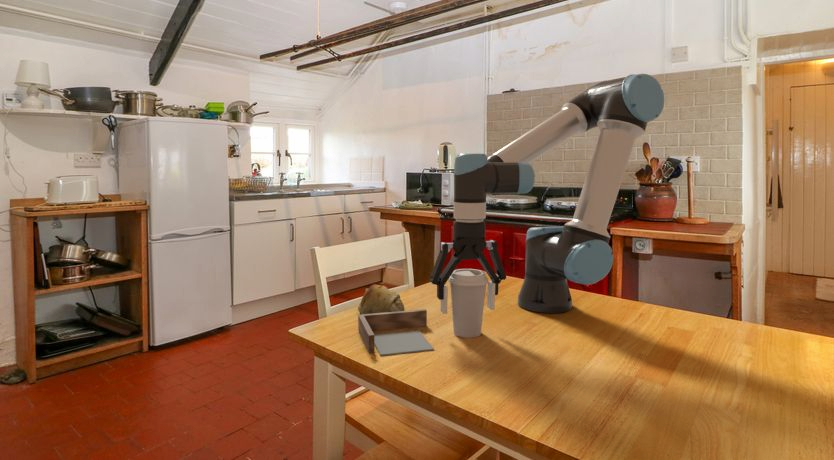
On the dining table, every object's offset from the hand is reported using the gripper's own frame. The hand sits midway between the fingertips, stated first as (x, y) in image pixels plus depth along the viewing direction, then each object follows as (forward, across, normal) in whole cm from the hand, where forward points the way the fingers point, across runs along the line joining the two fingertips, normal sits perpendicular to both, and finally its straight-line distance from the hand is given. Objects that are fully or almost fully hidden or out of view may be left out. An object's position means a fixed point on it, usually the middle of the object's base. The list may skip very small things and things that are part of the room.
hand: (467, 310), depth 114 cm
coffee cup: (+6, 0, 0) cm, 6 cm away
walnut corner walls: (+6, +17, -1) cm, 18 cm away
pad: (+6, +17, +2) cm, 18 cm away
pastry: (+6, +17, -21) cm, 28 cm away
